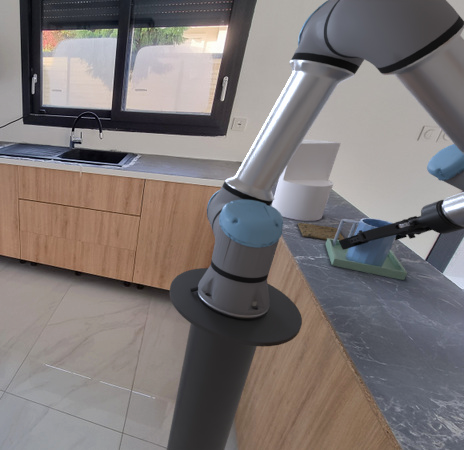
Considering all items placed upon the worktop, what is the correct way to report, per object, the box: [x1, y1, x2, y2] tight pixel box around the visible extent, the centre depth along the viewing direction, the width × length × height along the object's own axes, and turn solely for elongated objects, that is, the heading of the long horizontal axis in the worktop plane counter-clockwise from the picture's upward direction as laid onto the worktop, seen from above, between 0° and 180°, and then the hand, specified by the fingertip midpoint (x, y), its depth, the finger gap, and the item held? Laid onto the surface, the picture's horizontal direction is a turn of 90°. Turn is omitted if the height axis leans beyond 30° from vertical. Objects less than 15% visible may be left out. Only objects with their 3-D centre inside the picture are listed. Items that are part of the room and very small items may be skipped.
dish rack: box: [324, 218, 408, 281], centre depth 90 cm, size 15×15×10 cm
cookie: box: [297, 222, 345, 241], centre depth 109 cm, size 12×12×1 cm
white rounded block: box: [271, 139, 341, 222], centre depth 122 cm, size 17×17×28 cm
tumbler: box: [346, 217, 397, 267], centre depth 88 cm, size 8×8×12 cm
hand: (360, 242), depth 91 cm, fingers open, 13 cm apart
